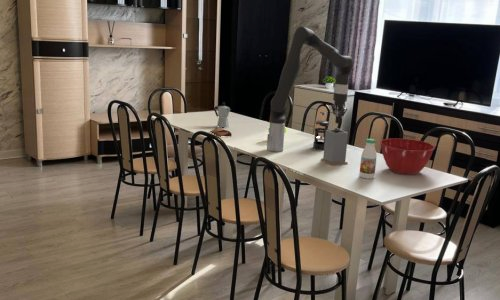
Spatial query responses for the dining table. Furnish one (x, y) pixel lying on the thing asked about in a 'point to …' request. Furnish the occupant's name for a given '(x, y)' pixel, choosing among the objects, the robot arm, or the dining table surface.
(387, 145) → the mixing bowl
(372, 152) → the milk bottle
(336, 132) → the plunger
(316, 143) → the french press
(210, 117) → the dining table surface
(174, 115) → the dining table surface
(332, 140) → the grey upright prism
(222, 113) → the coffee maker
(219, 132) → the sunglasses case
